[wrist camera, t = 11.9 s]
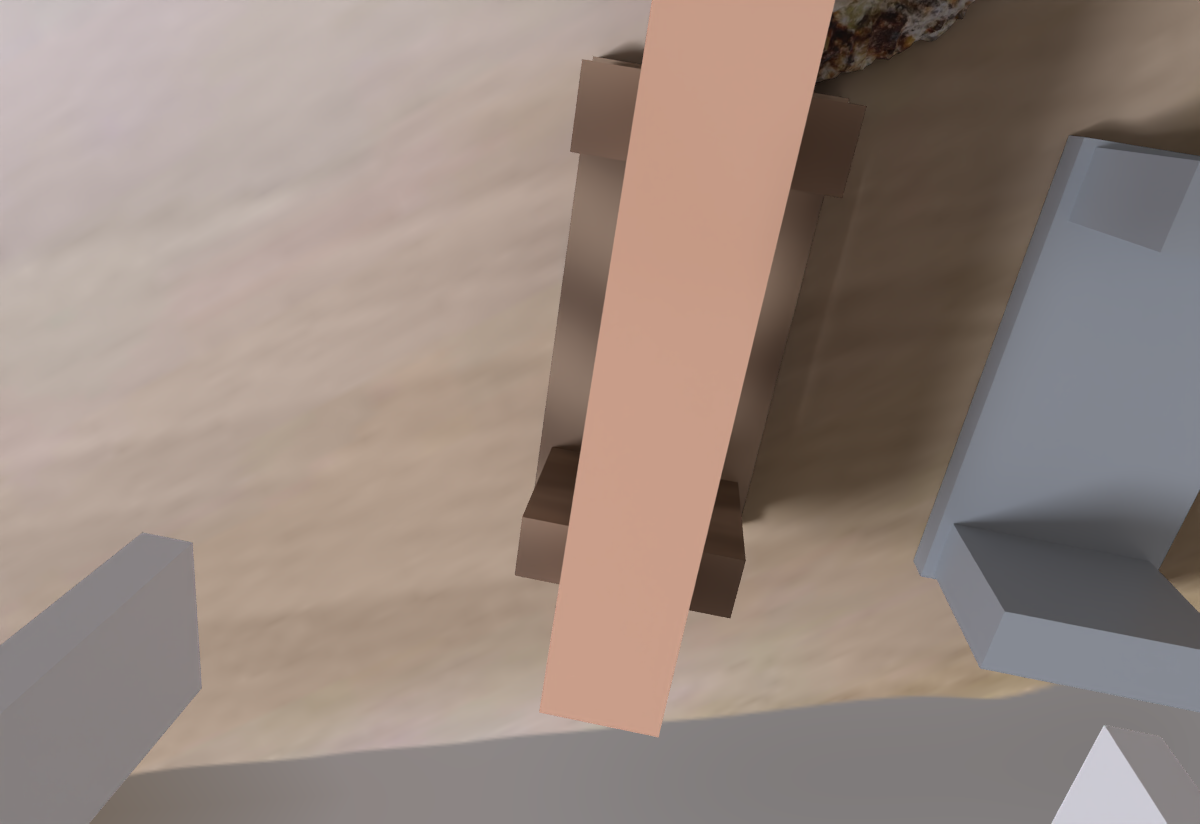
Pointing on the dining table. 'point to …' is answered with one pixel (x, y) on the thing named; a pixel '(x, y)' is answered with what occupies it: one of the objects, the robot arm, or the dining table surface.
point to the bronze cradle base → (582, 298)
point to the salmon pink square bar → (676, 339)
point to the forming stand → (1085, 440)
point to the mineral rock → (882, 30)
